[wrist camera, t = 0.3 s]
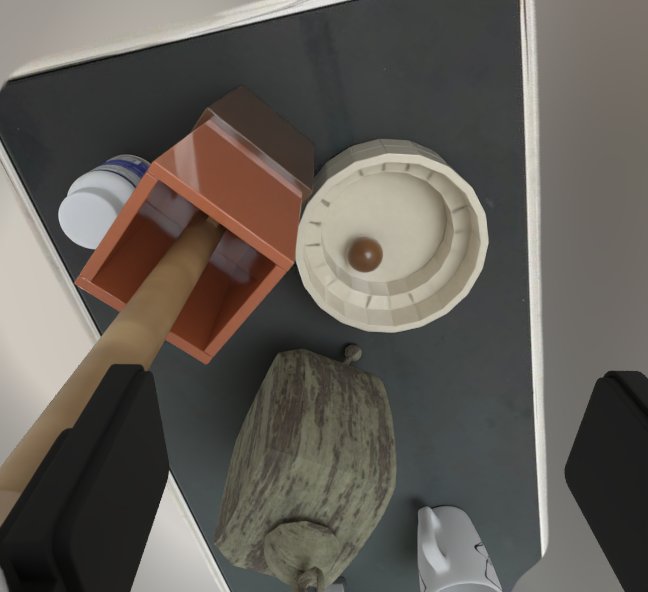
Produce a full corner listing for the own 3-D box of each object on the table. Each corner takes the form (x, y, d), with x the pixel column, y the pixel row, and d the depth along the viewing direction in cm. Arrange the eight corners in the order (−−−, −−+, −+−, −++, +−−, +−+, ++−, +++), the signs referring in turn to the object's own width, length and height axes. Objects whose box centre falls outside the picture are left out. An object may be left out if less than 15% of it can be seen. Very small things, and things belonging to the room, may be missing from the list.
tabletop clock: (317, 441, 54) (313, 726, 32) (238, 415, 52) (175, 697, 30) (377, 338, 47) (426, 603, 25) (290, 304, 46) (261, 558, 24)
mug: (383, 501, 58) (394, 585, 49) (447, 473, 56) (471, 555, 47) (428, 553, 63) (446, 638, 54) (489, 528, 60) (518, 613, 52)
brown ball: (362, 224, 41) (364, 237, 39) (388, 245, 42) (392, 259, 40) (338, 250, 42) (340, 264, 40) (365, 270, 43) (367, 285, 41)
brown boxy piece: (242, 83, 37) (148, 143, 17) (315, 145, 39) (309, 261, 19) (192, 157, 39) (58, 285, 19) (263, 211, 41) (209, 376, 22)
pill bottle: (143, 229, 42) (103, 273, 34) (88, 189, 41) (32, 226, 33) (178, 182, 40) (144, 218, 32) (122, 138, 39) (71, 165, 31)
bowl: (376, 98, 37) (385, 108, 32) (501, 212, 42) (528, 238, 36) (265, 235, 42) (257, 263, 37) (387, 324, 47) (395, 361, 41)
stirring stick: (199, 210, 27) (-47, 531, 10) (223, 177, 26) (1, 463, 9) (223, 228, 28) (29, 565, 10) (248, 196, 27) (83, 503, 9)
